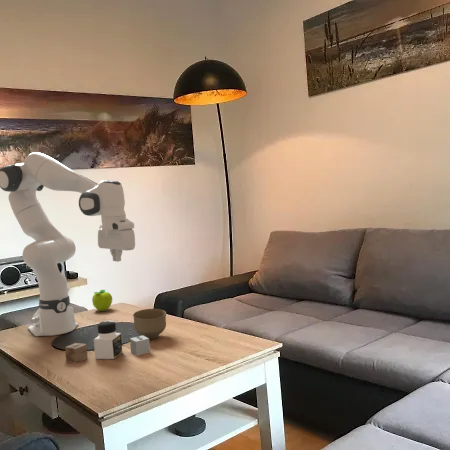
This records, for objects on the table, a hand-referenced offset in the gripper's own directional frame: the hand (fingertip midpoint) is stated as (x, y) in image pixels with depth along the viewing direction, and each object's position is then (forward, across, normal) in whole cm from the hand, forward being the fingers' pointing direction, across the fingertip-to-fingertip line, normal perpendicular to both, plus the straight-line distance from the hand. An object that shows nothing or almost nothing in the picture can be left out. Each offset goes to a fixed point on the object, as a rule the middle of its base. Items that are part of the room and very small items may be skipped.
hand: (117, 261), depth 183 cm
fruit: (+31, -52, +22) cm, 65 cm away
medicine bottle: (+31, +8, -11) cm, 34 cm away
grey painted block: (+31, +14, -2) cm, 34 cm away
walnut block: (+31, +2, -20) cm, 37 cm away
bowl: (+31, +4, +10) cm, 33 cm away
